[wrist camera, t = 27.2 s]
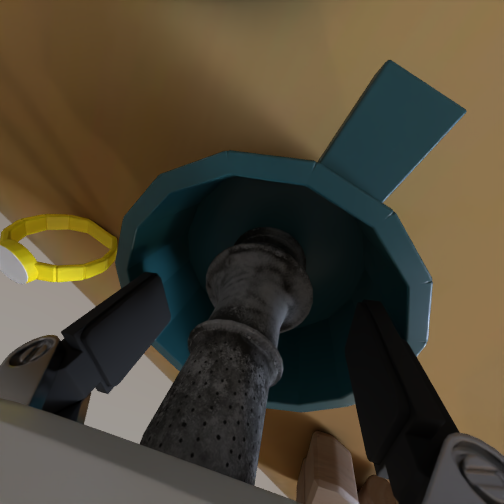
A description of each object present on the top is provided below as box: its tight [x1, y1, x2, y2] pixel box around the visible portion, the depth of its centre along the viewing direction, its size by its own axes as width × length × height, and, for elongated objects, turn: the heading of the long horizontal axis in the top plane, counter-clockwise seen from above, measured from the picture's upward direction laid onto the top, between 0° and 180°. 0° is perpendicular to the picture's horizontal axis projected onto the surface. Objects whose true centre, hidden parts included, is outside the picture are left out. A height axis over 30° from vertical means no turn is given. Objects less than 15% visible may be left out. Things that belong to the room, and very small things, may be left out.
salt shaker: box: [140, 227, 313, 486], centre depth 8 cm, size 6×6×12 cm
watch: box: [0, 214, 117, 284], centre depth 14 cm, size 6×3×6 cm, turn 60°
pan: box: [115, 60, 466, 412], centre depth 11 cm, size 13×19×6 cm
